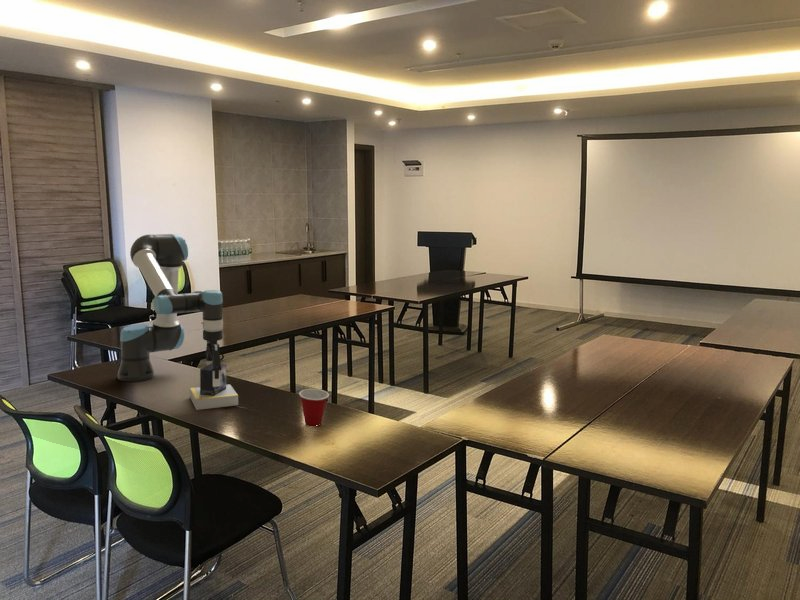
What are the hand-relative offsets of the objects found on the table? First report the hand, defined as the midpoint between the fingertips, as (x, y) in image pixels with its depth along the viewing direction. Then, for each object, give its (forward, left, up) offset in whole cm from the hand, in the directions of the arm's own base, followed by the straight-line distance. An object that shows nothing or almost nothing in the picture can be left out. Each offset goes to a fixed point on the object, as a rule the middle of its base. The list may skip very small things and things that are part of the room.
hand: (213, 381), depth 252 cm
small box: (0, 0, -4) cm, 4 cm away
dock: (0, 0, -8) cm, 8 cm away
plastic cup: (+39, +29, -8) cm, 50 cm away
